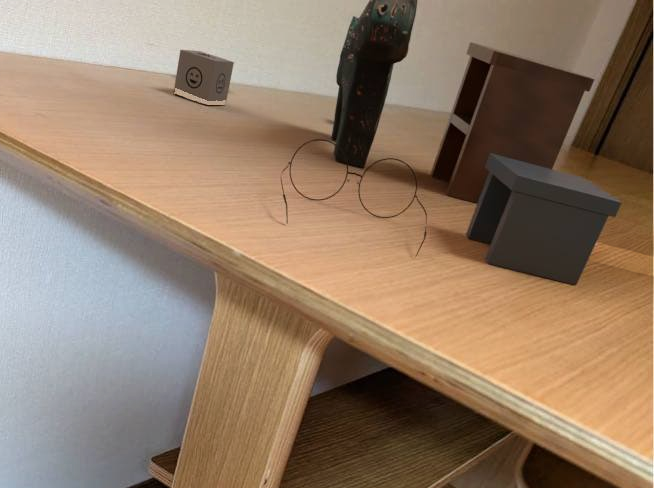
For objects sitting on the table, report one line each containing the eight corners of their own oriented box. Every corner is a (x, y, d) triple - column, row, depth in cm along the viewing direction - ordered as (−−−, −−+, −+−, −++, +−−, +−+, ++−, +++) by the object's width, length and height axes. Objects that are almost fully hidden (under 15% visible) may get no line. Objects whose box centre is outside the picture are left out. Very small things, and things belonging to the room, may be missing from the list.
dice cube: (192, 94, 107) (200, 51, 104) (225, 105, 106) (233, 62, 103) (173, 94, 103) (180, 49, 100) (207, 105, 102) (215, 60, 99)
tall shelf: (510, 195, 100) (561, 67, 92) (536, 218, 91) (594, 79, 83) (426, 173, 99) (470, 41, 91) (443, 194, 90) (494, 50, 82)
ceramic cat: (374, 174, 90) (439, -43, 79) (317, 159, 89) (375, -62, 78) (363, 144, 106) (416, -40, 95) (315, 131, 106) (363, -55, 95)
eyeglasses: (428, 261, 64) (452, 195, 61) (272, 221, 63) (289, 151, 60) (412, 226, 73) (432, 167, 70) (275, 190, 72) (290, 129, 69)
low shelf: (550, 256, 76) (584, 178, 72) (582, 287, 69) (622, 202, 65) (459, 233, 75) (489, 152, 71) (482, 262, 68) (517, 174, 64)
